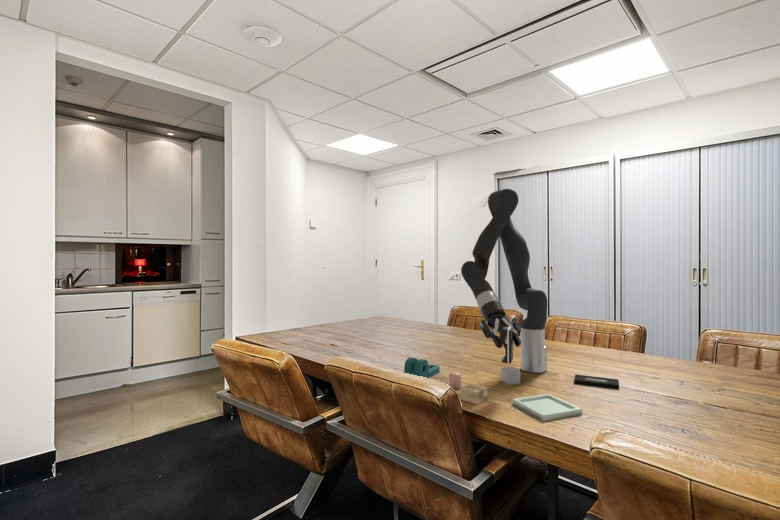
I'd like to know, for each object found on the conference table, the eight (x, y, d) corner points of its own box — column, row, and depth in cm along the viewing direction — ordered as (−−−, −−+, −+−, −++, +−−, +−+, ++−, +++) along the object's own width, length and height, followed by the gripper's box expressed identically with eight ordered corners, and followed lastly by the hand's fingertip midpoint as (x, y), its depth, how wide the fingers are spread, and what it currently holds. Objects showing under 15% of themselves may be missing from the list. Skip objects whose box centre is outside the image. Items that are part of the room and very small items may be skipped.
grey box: (513, 379, 153) (513, 366, 153) (520, 384, 148) (520, 370, 148) (501, 380, 152) (501, 367, 152) (507, 384, 147) (507, 371, 147)
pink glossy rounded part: (457, 384, 147) (457, 371, 147) (463, 388, 143) (463, 374, 143) (446, 386, 146) (446, 372, 146) (452, 390, 142) (452, 375, 142)
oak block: (472, 395, 136) (472, 383, 136) (487, 400, 132) (487, 387, 132) (461, 400, 132) (461, 387, 132) (477, 404, 128) (477, 392, 128)
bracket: (419, 382, 151) (419, 361, 151) (404, 379, 155) (404, 359, 155) (442, 371, 165) (442, 352, 165) (428, 368, 169) (428, 350, 169)
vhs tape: (575, 379, 154) (575, 374, 154) (618, 384, 147) (618, 379, 147) (574, 385, 147) (574, 379, 147) (619, 391, 141) (619, 385, 141)
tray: (548, 398, 132) (548, 393, 132) (582, 414, 119) (582, 408, 119) (512, 404, 128) (512, 399, 128) (543, 421, 114) (543, 415, 114)
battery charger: (501, 358, 139) (501, 325, 139) (513, 359, 137) (513, 325, 137) (498, 363, 132) (498, 328, 132) (511, 364, 131) (510, 329, 131)
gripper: (476, 300, 140) (495, 341, 129) (511, 298, 144) (533, 338, 133) (468, 314, 145) (486, 354, 134) (503, 311, 149) (523, 350, 138)
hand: (509, 346), depth 133 cm, fingers closed on battery charger, 6 cm apart
